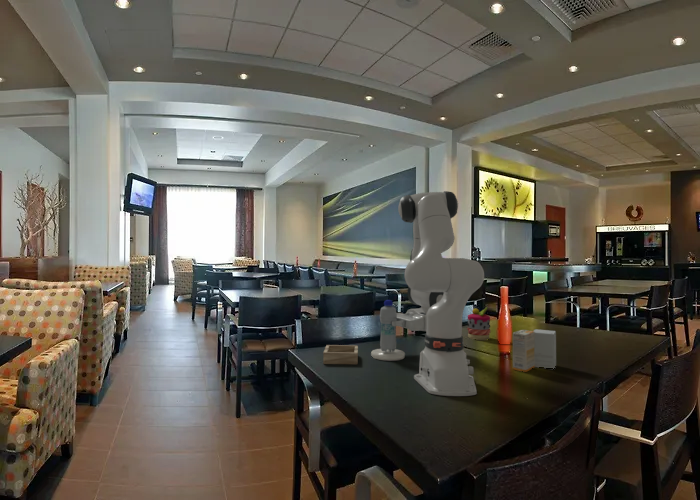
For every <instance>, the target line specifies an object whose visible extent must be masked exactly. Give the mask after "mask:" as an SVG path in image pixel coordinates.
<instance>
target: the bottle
mask: <svg viewBox="0 0 700 500" xmlns="http://www.w3.org/2000/svg"><path fill="white" fill-rule="evenodd" d="M383 305H384V306H382V307H381V308H380V312H379V322H380V321H381V322H380V339H379V341H380V342H379V345H380V349H381V350H382V351H385V352H387V350H389V352H391V351H392V352H394V351H395V349H397V326H391V321H396V320H397V319H396V318H397V314H396V313H397V309H396V307H394V303H393V300H391V299H386V300H384V302H383Z"/></svg>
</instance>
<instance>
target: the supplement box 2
mask: <svg viewBox="0 0 700 500" xmlns="http://www.w3.org/2000/svg"><path fill="white" fill-rule="evenodd" d="M533 331H534V332H535V367H534V368H539V367H544V368H543V369H546V368H553V369H554V368H555V369H556V367H557V332H556V330H548V329H540V328H539V329H537V328H536V329H533ZM555 366H556V367H555ZM553 369H552V370H553ZM555 369H554V370H555Z"/></svg>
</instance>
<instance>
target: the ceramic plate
mask: <svg viewBox="0 0 700 500" xmlns="http://www.w3.org/2000/svg"><path fill="white" fill-rule="evenodd" d="M405 355H406V353H405V351H403V350H400V349H397V348H396V349H395V351H394V352H392V351H391V352H389V350H387V352H385V351H382V350H381V348H376V349H372V351H371V353H370V357H371V356H372V357H373V358H372V357H371V358H372V359H374V360H378V361H387V362H391V361H401V360H403V359H405V357H406V356H405Z"/></svg>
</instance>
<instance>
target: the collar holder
mask: <svg viewBox="0 0 700 500" xmlns="http://www.w3.org/2000/svg"><path fill="white" fill-rule="evenodd" d="M322 355H323V360H322V361H323V362H322V363H323V365H358V360H359V359H358V358H359V357H358V355H359V345H354V344H351V345H350V344H349V345H345V344H344V345H343V344H342V345H341V344H340V345H339V344H326V346H325V347H324V350H323V353H322Z"/></svg>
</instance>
